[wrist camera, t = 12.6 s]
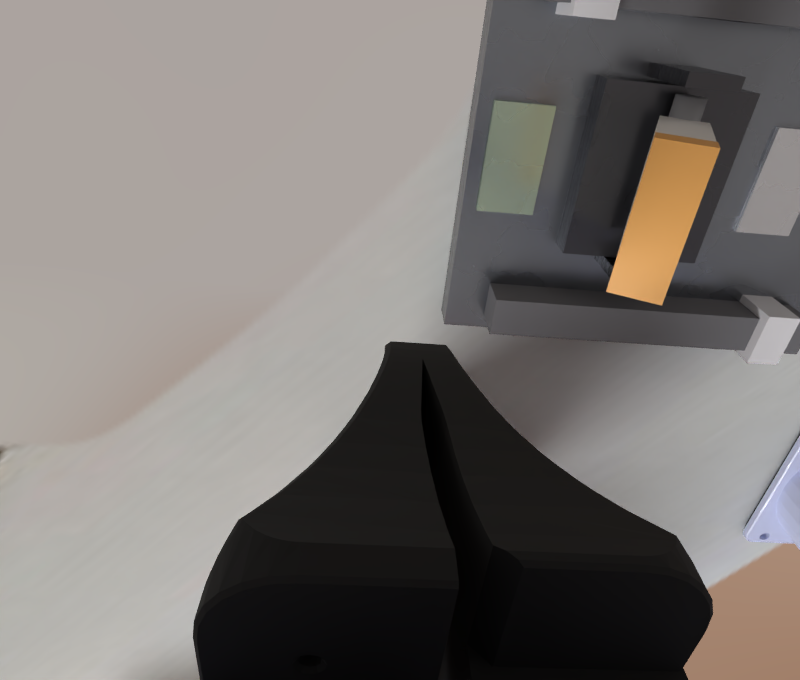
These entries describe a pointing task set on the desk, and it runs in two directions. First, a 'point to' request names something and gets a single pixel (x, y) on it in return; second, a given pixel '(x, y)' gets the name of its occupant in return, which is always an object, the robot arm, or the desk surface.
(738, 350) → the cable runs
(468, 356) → the desk surface
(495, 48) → the breaker panel
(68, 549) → the desk surface
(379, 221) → the desk surface
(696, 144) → the lever
